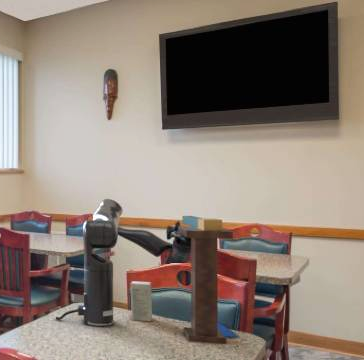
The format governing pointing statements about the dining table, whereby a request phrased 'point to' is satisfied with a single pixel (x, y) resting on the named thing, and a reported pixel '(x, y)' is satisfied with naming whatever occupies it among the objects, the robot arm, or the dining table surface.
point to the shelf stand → (204, 283)
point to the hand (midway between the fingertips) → (192, 224)
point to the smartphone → (226, 331)
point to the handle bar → (203, 223)
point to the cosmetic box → (141, 301)
